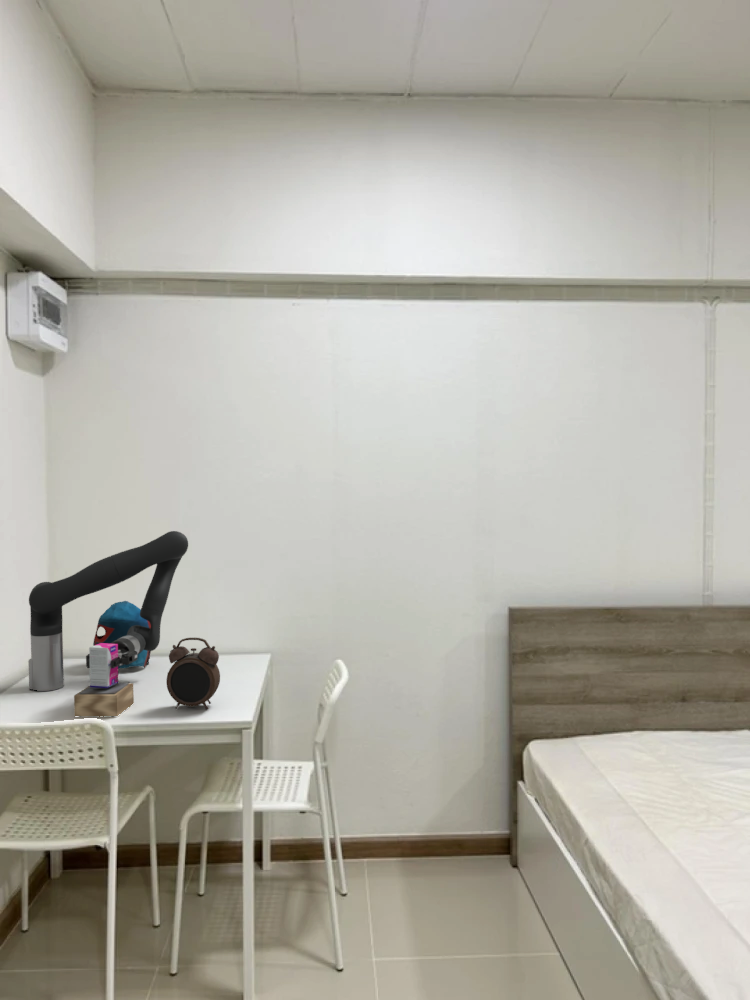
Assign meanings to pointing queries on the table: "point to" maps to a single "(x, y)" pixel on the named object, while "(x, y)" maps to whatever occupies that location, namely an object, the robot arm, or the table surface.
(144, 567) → the robot arm
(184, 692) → the alarm clock
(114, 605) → the mask
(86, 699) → the pedestal
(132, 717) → the table surface
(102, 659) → the supplement box
